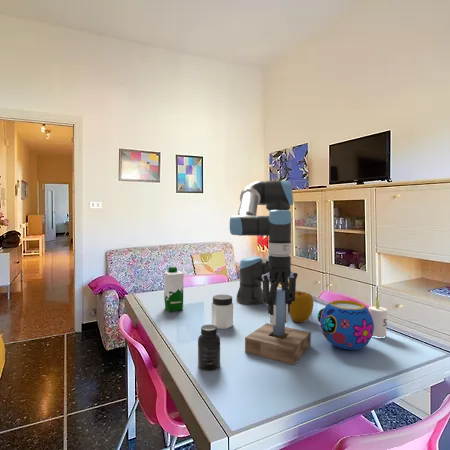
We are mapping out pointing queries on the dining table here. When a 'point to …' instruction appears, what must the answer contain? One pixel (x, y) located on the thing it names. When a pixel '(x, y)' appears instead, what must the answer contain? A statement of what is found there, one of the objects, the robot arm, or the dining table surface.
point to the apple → (301, 307)
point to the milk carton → (173, 289)
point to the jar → (222, 311)
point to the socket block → (278, 344)
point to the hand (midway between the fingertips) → (278, 322)
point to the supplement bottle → (209, 348)
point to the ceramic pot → (346, 324)
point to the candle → (379, 319)
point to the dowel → (280, 313)
